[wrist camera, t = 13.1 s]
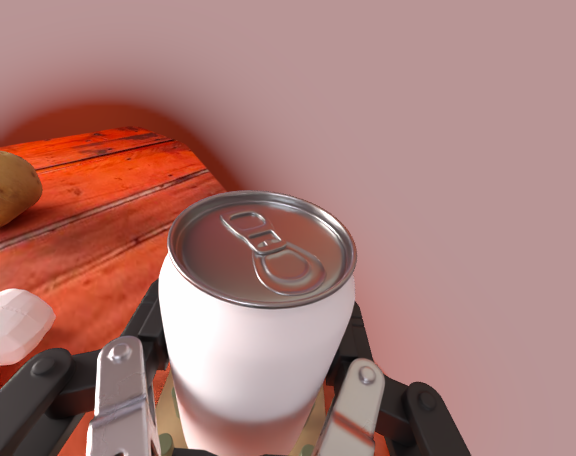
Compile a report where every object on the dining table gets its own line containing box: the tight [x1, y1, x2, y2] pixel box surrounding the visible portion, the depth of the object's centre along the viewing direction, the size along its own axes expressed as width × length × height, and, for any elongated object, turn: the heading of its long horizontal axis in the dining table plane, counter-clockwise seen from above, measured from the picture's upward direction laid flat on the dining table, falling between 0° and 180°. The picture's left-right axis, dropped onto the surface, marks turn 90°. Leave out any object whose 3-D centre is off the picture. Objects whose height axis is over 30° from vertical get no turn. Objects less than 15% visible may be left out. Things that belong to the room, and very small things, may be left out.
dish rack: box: [155, 369, 326, 456], centre depth 20 cm, size 14×12×5 cm
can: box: [159, 190, 357, 456], centre depth 11 cm, size 6×6×12 cm
